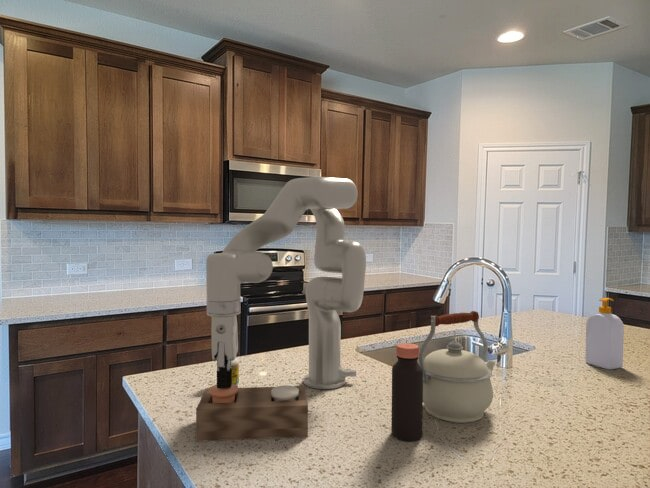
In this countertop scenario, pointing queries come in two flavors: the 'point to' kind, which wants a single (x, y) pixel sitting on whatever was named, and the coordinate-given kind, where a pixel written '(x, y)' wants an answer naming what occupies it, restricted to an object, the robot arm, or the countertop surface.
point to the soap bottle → (604, 338)
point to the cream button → (285, 393)
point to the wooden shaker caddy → (252, 416)
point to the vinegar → (407, 394)
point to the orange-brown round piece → (223, 394)
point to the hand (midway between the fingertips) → (224, 386)
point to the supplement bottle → (235, 371)
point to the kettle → (456, 376)
